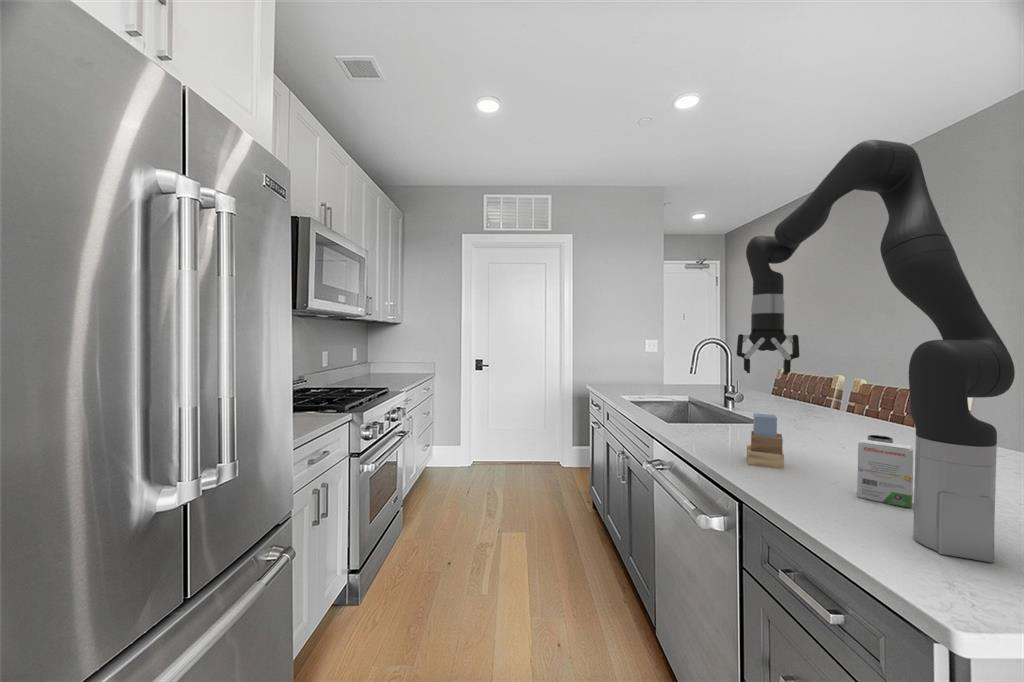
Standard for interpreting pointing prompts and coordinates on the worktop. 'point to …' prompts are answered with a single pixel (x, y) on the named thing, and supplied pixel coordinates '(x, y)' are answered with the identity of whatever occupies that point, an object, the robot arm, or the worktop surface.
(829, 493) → the worktop surface
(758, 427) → the blue cube
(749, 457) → the oak block
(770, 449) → the walnut block
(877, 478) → the ink box
